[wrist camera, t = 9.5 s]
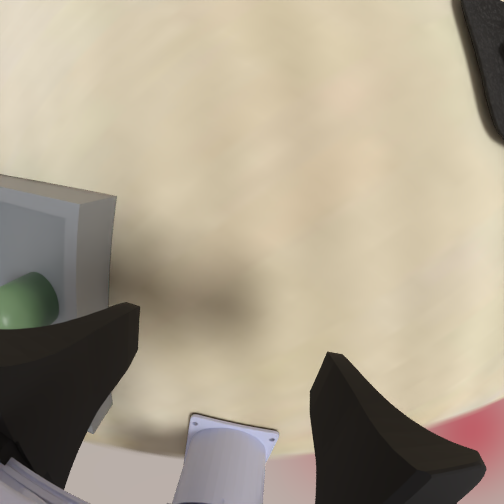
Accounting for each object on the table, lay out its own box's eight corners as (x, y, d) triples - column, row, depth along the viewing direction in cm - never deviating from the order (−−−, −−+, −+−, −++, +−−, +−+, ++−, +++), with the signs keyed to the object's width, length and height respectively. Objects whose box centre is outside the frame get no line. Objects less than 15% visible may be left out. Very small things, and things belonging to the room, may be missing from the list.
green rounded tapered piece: (59, 332, 21) (18, 365, 16) (23, 310, 21) (-18, 337, 16) (59, 283, 20) (10, 311, 14) (22, 264, 20) (-26, 285, 14)
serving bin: (112, 404, 24) (93, 434, 20) (3, 347, 24) (-19, 365, 20) (116, 196, 19) (79, 204, 15) (-11, 172, 19) (-44, 177, 15)
